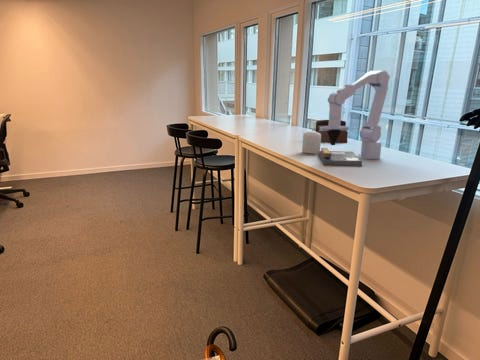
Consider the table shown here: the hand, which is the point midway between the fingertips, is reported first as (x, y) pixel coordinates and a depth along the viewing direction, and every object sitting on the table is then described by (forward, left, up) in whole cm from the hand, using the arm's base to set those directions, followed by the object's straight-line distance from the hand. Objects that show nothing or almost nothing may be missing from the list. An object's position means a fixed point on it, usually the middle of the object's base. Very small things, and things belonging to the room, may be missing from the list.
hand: (332, 144), depth 170 cm
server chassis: (-4, -2, -8) cm, 9 cm away
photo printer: (+9, -18, -9) cm, 22 cm away
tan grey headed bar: (+3, -2, -5) cm, 7 cm away
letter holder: (-8, -57, -9) cm, 59 cm away
